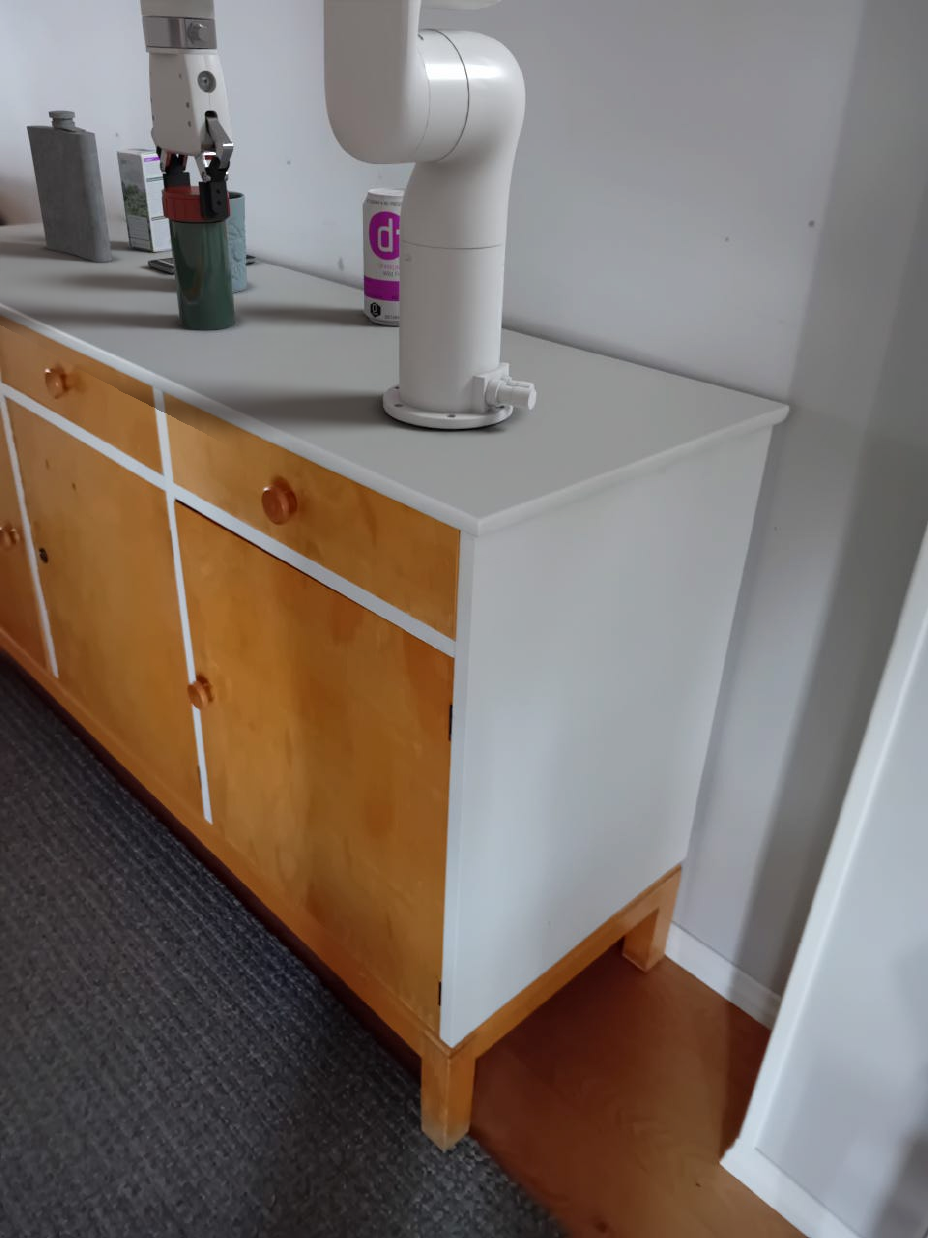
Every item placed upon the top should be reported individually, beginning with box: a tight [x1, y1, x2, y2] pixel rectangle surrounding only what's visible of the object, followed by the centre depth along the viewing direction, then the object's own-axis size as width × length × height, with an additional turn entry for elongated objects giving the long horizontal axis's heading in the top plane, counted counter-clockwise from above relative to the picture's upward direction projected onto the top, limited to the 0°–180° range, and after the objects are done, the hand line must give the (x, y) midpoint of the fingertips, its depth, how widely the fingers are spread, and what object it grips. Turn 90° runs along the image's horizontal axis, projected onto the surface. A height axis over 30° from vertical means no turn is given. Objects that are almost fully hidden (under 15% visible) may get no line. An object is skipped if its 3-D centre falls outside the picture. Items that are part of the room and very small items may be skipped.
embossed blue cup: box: [227, 190, 248, 293], centre depth 135 cm, size 10×10×12 cm
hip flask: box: [26, 110, 113, 263], centre depth 151 cm, size 16×4×20 cm, turn 49°
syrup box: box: [116, 148, 172, 253], centre depth 158 cm, size 6×6×14 cm
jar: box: [169, 219, 236, 331], centre depth 118 cm, size 7×7×14 cm
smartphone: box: [147, 254, 257, 274], centre depth 151 cm, size 7×1×15 cm
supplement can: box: [362, 187, 406, 327], centre depth 123 cm, size 8×8×15 cm
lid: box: [162, 185, 231, 221], centre depth 115 cm, size 8×8×3 cm
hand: (197, 213), depth 115 cm, fingers closed on lid, 7 cm apart
